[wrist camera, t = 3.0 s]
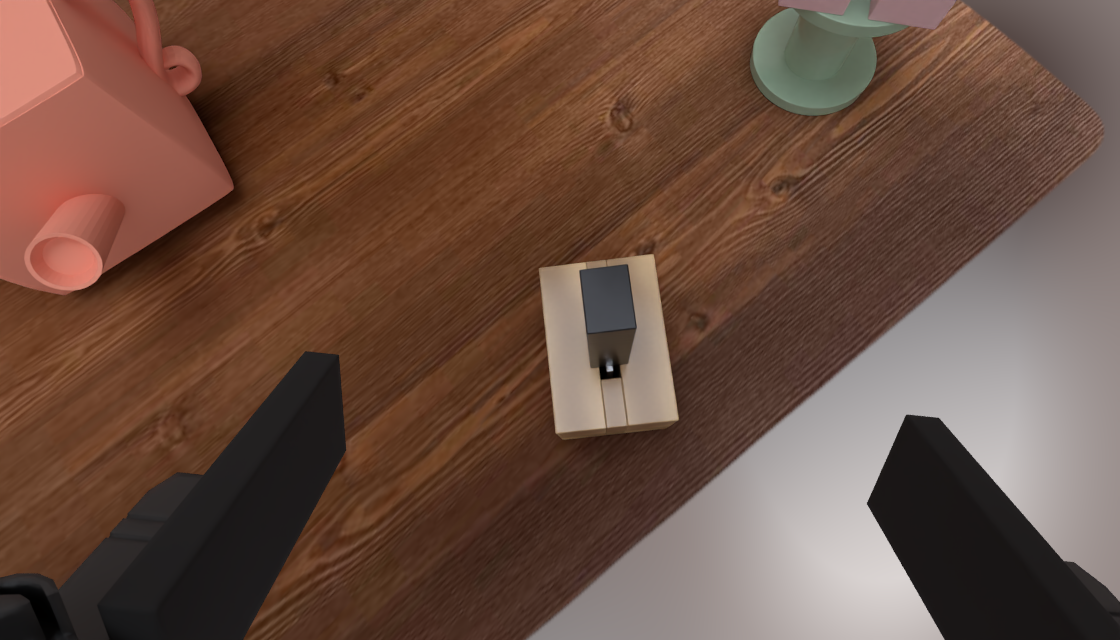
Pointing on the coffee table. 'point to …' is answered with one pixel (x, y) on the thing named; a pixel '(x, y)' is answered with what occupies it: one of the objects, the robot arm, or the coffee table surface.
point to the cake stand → (817, 58)
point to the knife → (608, 315)
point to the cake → (885, 10)
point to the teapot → (94, 140)
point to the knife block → (640, 384)
